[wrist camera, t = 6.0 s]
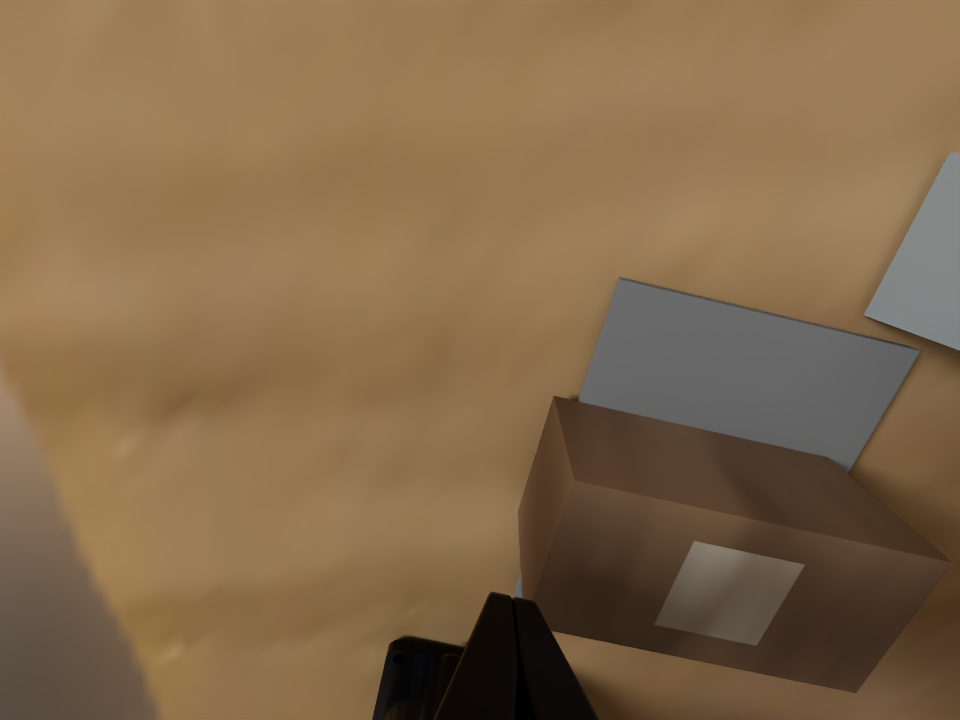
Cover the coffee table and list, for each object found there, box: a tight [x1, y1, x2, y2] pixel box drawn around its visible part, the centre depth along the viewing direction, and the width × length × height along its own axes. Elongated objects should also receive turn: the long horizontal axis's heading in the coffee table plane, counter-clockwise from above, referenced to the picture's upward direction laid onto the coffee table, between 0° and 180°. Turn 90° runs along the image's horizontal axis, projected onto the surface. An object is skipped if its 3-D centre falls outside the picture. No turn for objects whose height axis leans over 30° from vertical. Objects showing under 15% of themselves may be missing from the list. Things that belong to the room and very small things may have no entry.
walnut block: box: [518, 396, 952, 693], centre depth 12 cm, size 4×4×8 cm
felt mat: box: [514, 277, 920, 598], centre depth 14 cm, size 11×8×1 cm
